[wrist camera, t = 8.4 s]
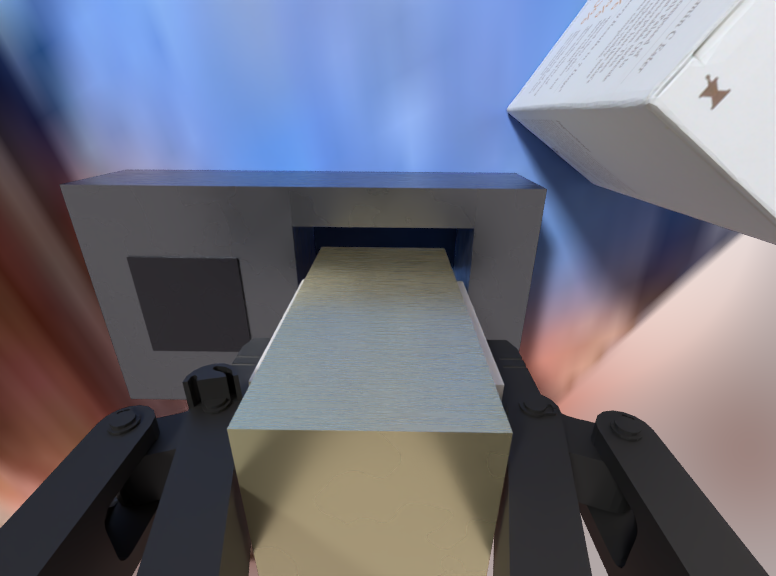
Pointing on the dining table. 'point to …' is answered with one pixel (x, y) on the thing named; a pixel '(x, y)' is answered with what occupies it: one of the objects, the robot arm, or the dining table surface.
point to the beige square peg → (373, 425)
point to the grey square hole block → (275, 252)
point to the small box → (667, 105)
